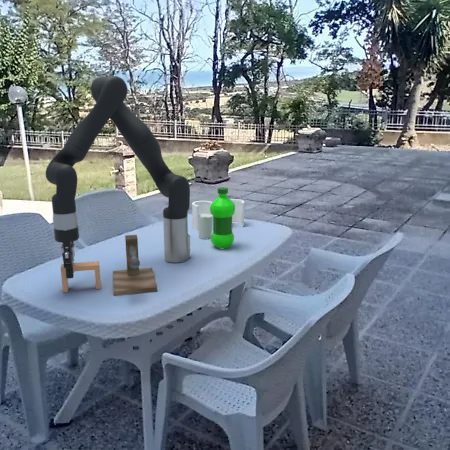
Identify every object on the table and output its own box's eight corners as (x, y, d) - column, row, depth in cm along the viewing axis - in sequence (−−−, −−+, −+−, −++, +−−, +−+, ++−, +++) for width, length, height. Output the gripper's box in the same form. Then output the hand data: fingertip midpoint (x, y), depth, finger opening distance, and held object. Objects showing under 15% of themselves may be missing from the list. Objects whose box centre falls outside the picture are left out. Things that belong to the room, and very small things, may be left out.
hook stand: (113, 274, 171) (110, 234, 167) (152, 271, 174) (150, 232, 170) (114, 302, 149) (111, 257, 145) (159, 298, 152) (157, 254, 148)
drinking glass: (210, 240, 209) (210, 218, 206) (196, 239, 210) (195, 217, 207) (214, 235, 215) (214, 214, 212) (199, 234, 216) (199, 213, 214)
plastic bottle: (235, 243, 205) (236, 186, 198) (233, 251, 195) (234, 191, 188) (212, 242, 206) (212, 185, 199) (209, 250, 196) (208, 191, 189)
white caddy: (240, 222, 236) (240, 198, 233) (246, 227, 227) (246, 203, 224) (190, 225, 230) (190, 201, 227) (194, 231, 221) (194, 206, 218)
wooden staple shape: (100, 284, 163) (99, 260, 160) (100, 289, 159) (98, 265, 157) (63, 287, 160) (61, 263, 158) (62, 292, 156) (60, 268, 154)
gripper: (55, 220, 158) (60, 268, 163) (51, 232, 145) (56, 284, 150) (79, 218, 160) (83, 266, 165) (76, 231, 147) (81, 282, 152)
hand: (70, 275), depth 157 cm, fingers closed on wooden staple shape, 4 cm apart
